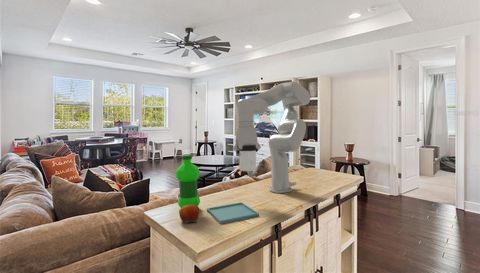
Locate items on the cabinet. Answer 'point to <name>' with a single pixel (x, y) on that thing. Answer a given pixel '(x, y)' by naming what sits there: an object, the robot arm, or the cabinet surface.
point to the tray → (232, 212)
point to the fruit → (189, 213)
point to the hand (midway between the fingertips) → (247, 162)
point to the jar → (247, 158)
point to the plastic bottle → (188, 182)
